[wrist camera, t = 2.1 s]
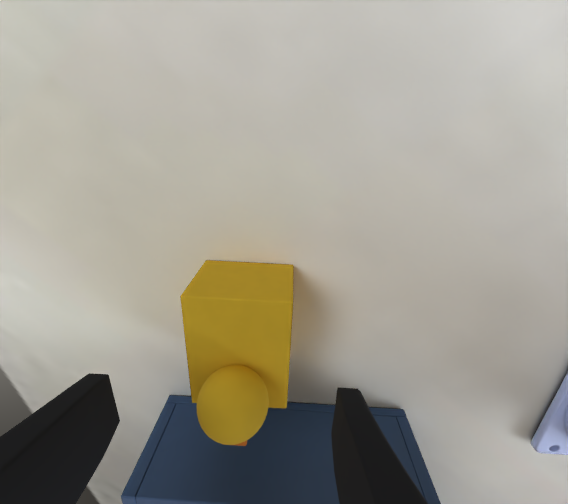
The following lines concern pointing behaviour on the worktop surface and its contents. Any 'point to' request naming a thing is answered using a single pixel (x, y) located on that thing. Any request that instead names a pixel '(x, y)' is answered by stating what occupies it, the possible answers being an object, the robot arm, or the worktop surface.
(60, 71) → the worktop surface
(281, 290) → the duck
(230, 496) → the open box
